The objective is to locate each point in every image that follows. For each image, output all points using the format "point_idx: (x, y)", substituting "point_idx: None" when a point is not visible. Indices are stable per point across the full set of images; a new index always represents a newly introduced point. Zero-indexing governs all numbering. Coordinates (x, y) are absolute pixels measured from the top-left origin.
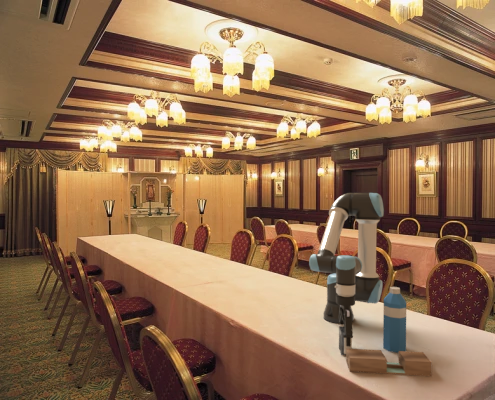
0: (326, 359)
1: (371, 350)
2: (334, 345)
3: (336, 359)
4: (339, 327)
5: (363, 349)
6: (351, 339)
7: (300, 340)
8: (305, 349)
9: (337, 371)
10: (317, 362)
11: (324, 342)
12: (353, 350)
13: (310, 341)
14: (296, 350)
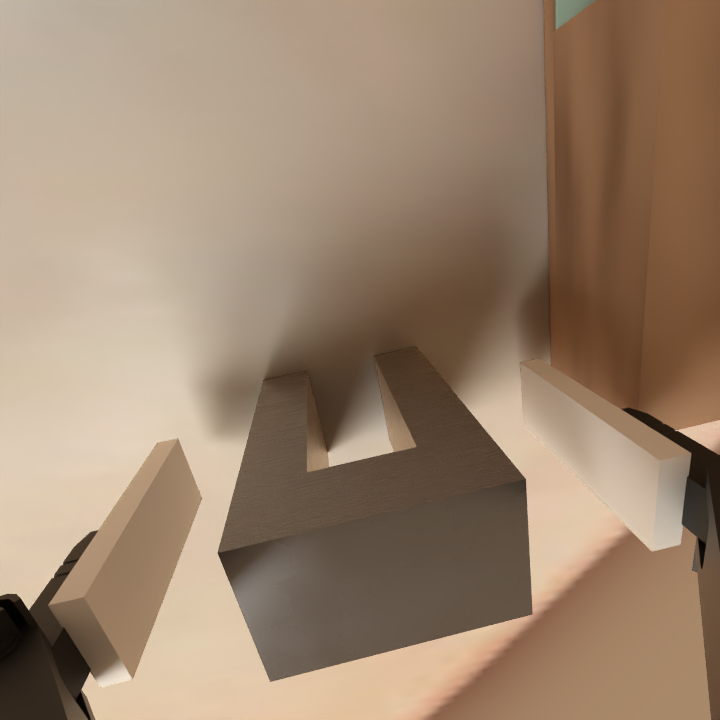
0: (535, 513)
1: (682, 124)
2: None
3: (523, 452)
4: (319, 668)
5: (651, 242)
6: (664, 438)
7: (249, 713)
8: (400, 653)
9: (711, 424)
10: (589, 554)
11: (209, 578)
12: (687, 362)
13: (237, 661)
14: (432, 688)
